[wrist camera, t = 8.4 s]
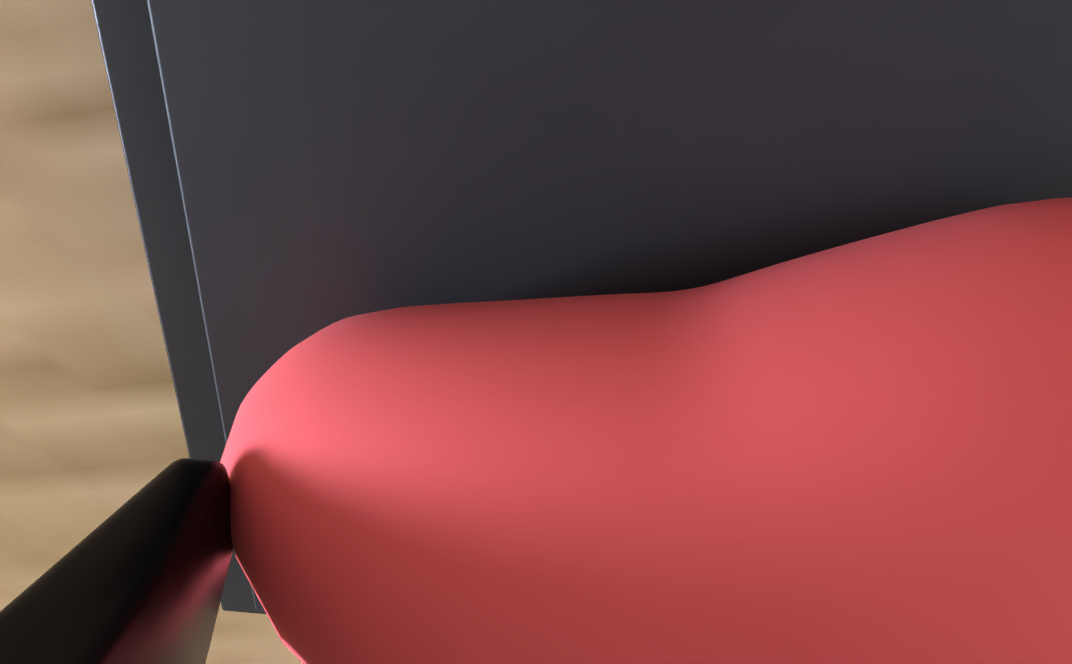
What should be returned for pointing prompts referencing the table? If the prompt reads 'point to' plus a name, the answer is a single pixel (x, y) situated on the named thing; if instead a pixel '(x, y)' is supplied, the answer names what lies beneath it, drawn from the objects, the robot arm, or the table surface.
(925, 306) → the stress ball
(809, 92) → the black case
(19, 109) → the table surface
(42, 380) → the table surface
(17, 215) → the table surface
